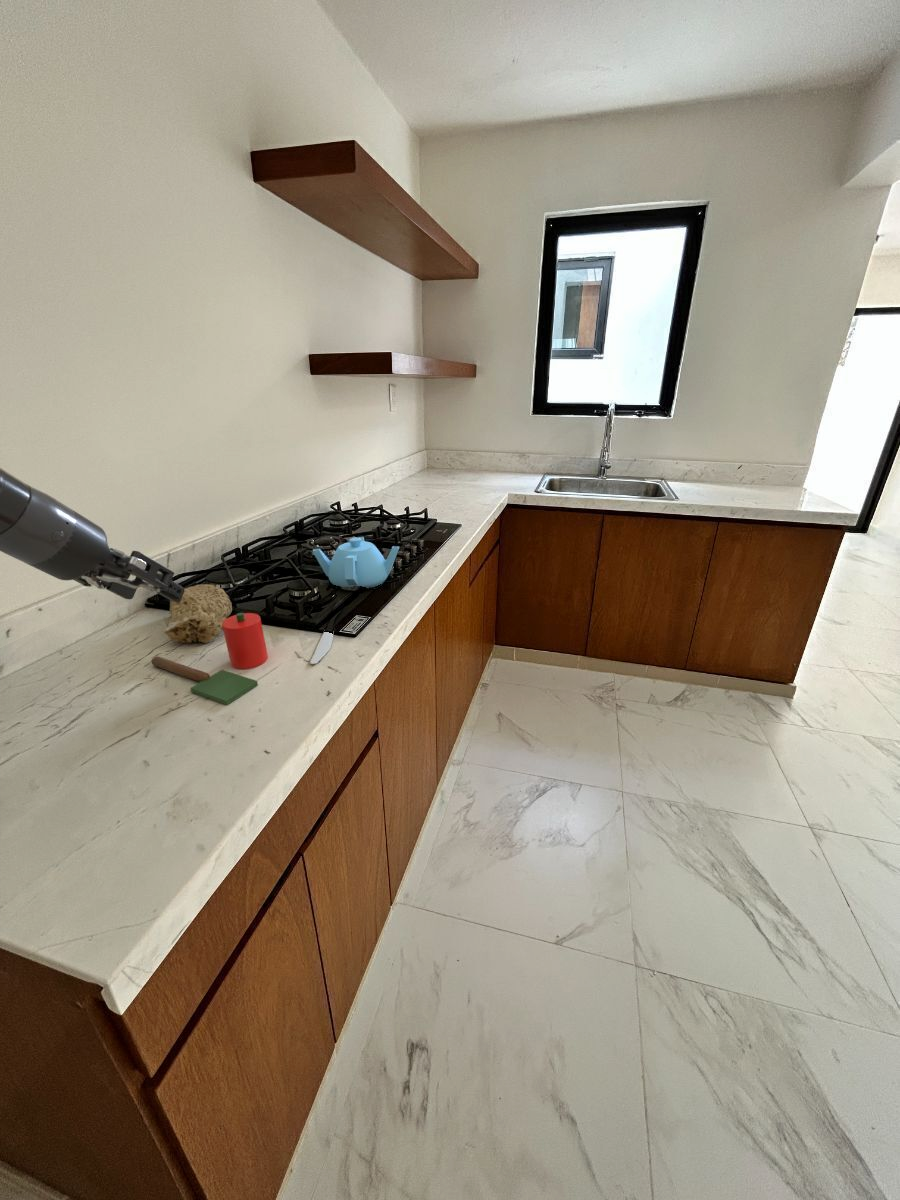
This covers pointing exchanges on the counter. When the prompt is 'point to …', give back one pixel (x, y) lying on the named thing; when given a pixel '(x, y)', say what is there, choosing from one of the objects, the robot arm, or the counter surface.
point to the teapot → (356, 564)
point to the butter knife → (322, 647)
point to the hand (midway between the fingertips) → (156, 594)
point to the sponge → (198, 614)
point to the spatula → (211, 681)
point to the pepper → (245, 640)
